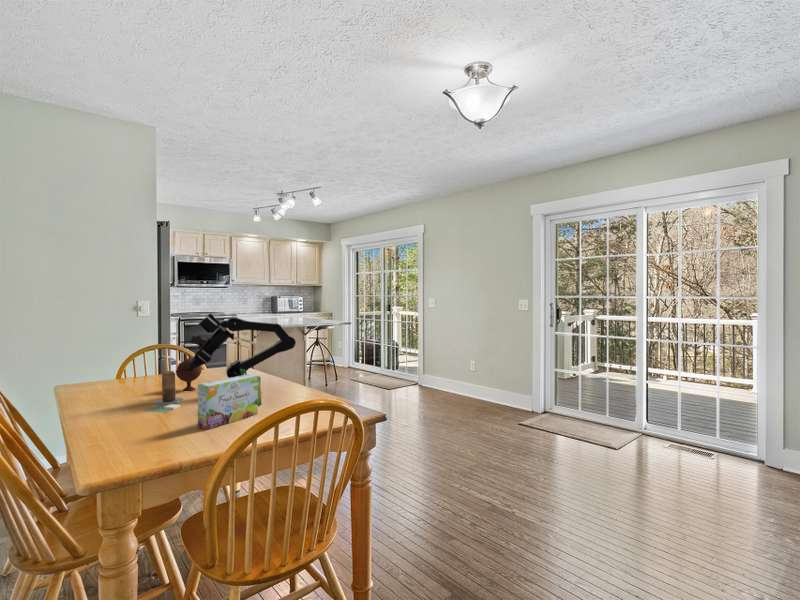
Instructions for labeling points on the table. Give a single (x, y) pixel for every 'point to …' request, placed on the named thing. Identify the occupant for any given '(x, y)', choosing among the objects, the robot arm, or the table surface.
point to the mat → (163, 408)
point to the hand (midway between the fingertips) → (188, 368)
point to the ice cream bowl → (187, 374)
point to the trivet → (159, 402)
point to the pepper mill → (168, 386)
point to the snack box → (227, 401)
